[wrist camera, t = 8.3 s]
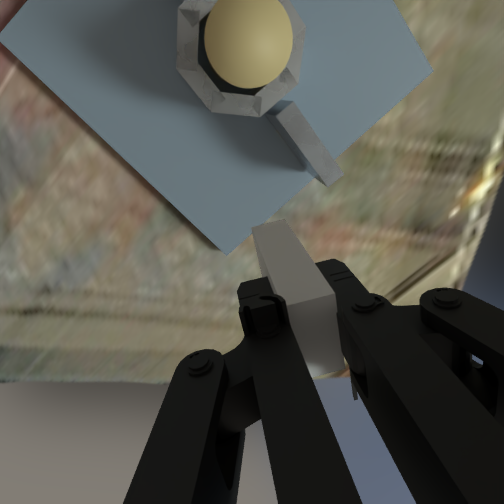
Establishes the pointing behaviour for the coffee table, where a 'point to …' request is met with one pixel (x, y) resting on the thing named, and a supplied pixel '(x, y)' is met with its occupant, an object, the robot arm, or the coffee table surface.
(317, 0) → the board
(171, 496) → the robot arm
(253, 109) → the collar
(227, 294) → the coffee table surface
